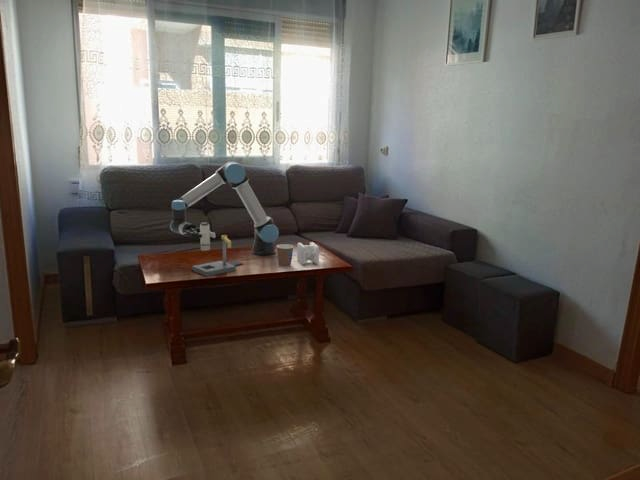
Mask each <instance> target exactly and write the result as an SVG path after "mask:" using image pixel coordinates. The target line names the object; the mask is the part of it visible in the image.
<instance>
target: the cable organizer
mask: <svg viewBox="0 0 640 480" xmlns="http://www.w3.org/2000/svg"><path fill="white" fill-rule="evenodd" d="M296 247H297V250H296V251H297V253H296V256H297V257H296V258H297V261H298V262H299V263H300V264H301V265H302V266H305V265H306V263H309V262H308V261H311V262H312V263H313V264H314V265H317V264H319V260H320V259H319V258H320V257H319V256H320V246H318V244H316V243H315V242H313V241H310V242H309V245H306V244H305V245H304V244H303V243H302V242H297V245H296Z"/></svg>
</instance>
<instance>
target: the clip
mask: <svg viewBox="0 0 640 480" xmlns="http://www.w3.org/2000/svg"><path fill="white" fill-rule="evenodd" d="M220 237H221V238H220V239H221V240H222V241H223V240H225V241H226V244H227V248H228V249H230V248H232V241H231V240H230V239H229V238H228V235H227V234H223V235H221V236H220Z"/></svg>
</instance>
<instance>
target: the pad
mask: <svg viewBox="0 0 640 480" xmlns="http://www.w3.org/2000/svg"><path fill="white" fill-rule="evenodd" d="M226 263H228V264H231V265H234V266H236V267H238V266H239V267H240V266H243V265H244V263H243V262H240V261H238V260H229V261H226Z"/></svg>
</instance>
